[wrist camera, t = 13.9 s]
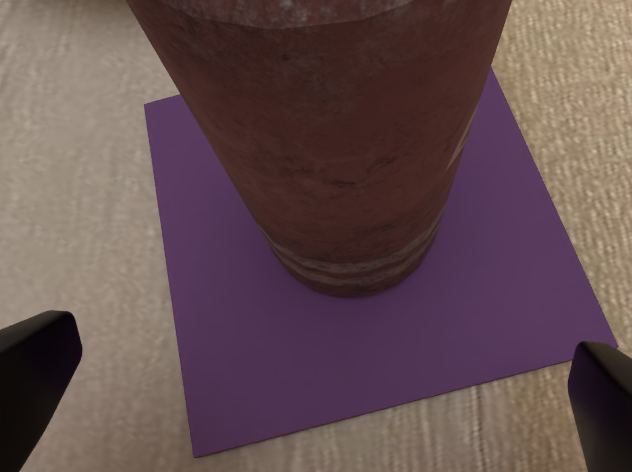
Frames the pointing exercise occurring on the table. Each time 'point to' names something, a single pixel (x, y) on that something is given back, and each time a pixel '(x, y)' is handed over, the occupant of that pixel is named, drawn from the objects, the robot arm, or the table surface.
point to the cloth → (365, 310)
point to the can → (334, 119)
